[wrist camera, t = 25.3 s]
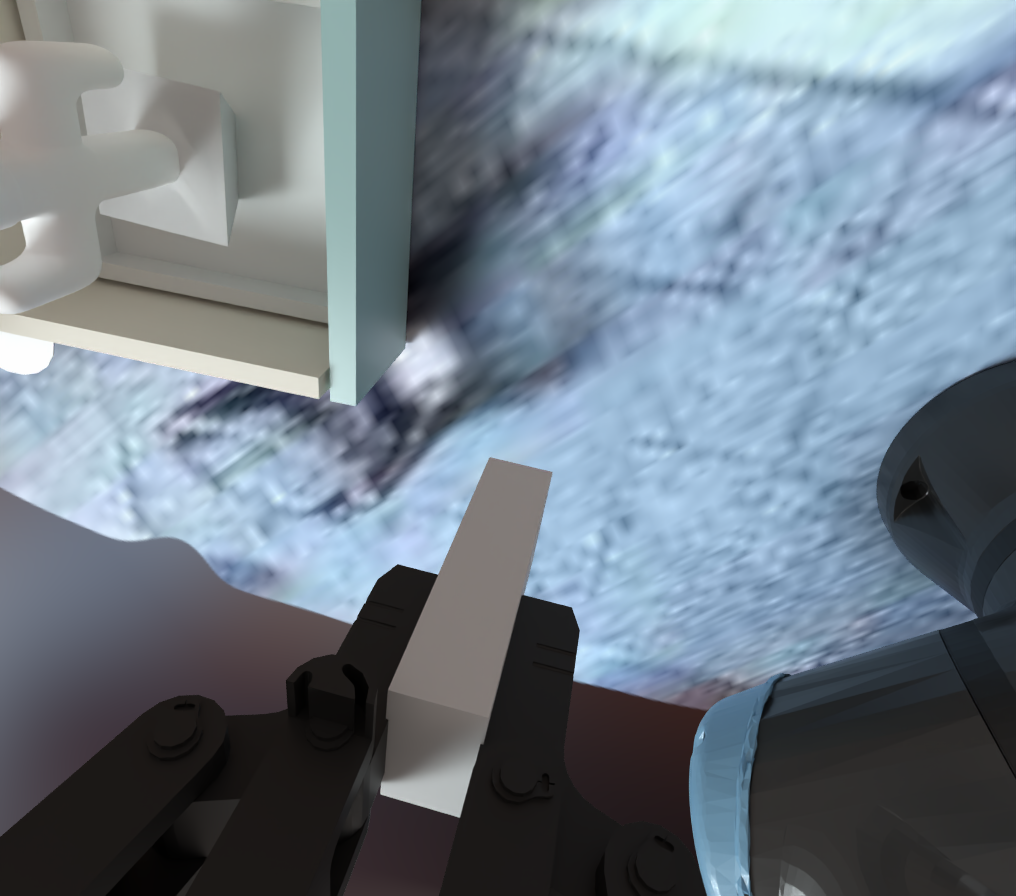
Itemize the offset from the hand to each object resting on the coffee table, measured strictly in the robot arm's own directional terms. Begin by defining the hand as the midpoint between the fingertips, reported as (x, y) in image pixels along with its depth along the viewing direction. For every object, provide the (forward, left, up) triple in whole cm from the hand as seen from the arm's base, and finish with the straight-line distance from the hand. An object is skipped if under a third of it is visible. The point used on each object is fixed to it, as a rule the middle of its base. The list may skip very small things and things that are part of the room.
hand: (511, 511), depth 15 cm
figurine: (+19, +11, -22) cm, 31 cm away
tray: (+18, +9, -23) cm, 31 cm away
